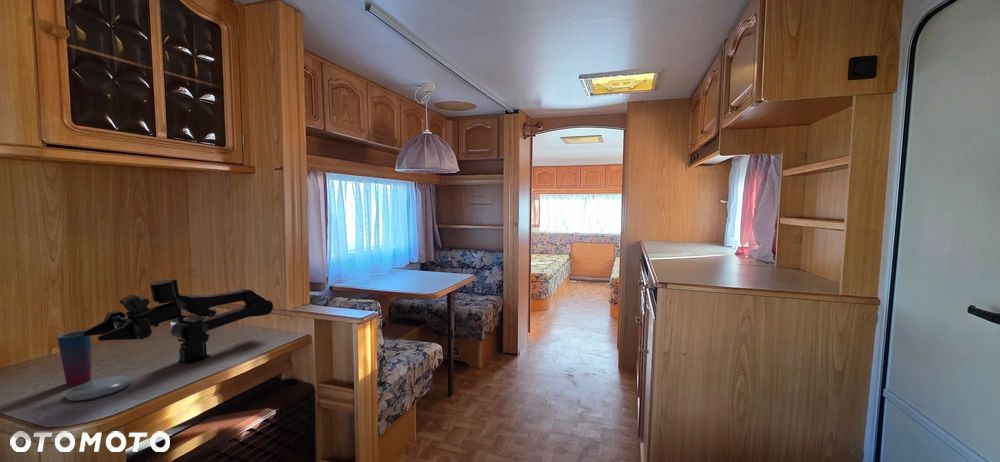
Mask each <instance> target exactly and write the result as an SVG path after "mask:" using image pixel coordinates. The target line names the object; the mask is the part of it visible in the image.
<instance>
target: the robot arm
mask: <svg viewBox="0 0 1000 462" xmlns="http://www.w3.org/2000/svg"><path fill="white" fill-rule="evenodd" d="M148 284H149V289H150V293H151V298H152V301H153V302H157V304H159V305H156V306H153V307H149V306H148V305H149V304H150V303H151V301H150V299H149V298H146V297H142V298H141V297H140V296H138V295H136V294H129V295H126V296H125V297H123V298H122V299H120V300H118V302H119V303H120V304H121V305H123V306H124V308H125V309H126V310H127V311H126V312H122V311H117V310H112V311H109V312H106V315H105V317H104V319H103V321H101V322H99V323H97V324H95V325H94V326H91V327H90V328H88V329H85V330H86V331H84V332H83V335H84V336H91V337H92V336H98V335H99V336H98V337H97V340H98V341H100V342H103V341H125V340H127V341H128V340H129V341H130V340H131V341H133V340H134V341H136V340H144V339H147V338H150V336H151V335H152V333H153V331H152V327H154V328H157V327H160V324H162V323H163V324H164V323H166V322H168V321H169V322H170V321H172V320H173V322H174V323H175V324H174V325H173V326H172V327H171V330H170V335H171V336H172V337H173V338H175V339H176V340H177V341H178V343H180V348H179V349H178V350H179V351H178V352H179V359H178V362H181V363H186V364H193V363H196V362H198V361H201V360H204V359H207V358H209V357H211V355H210V354H208V353H207V352H208V351H207V342H208V341H209V338H210V334H208V333H207V332H209V331H211V330H214V329H217V328H219V327H223V326H227V325H229V324H231V323H235V322H238V321H240V320H243V319H247V318H252V317H261V316H262V317H263V316H268V315H270V314H271V313H272V311H273V309H274V304H273V302H272V301H271V300H268V299H266V298H264V297H263V296H261V295H259V294H257V293H256V292H255V291H253V290H251V289H248V288H247V289H246V288H243V289H239V290H234V291H227V292H220V293H216V294H210V295H205V294H203V295H201V294H187V295H186V294H180V292H179V287H178V280H177V279H174V278H172V279H165V280H157V281H153V282H150V283H148ZM238 302H243V303H244V305H243V306H241V307H237V308H235V309H232V310H229V311H225V312H222V313H218V314H215V315H212V316H209V317H206V318H205V317H204V318H203V317H198V316H196V314H199V313H203V312H206V311H207V310H210V309H211V308H214V307H217V306H218V307H219V306H223V305H228V304H233V303H238ZM182 312H183V313H188V314H192V315H194V314H195V315H194V316H189V317H188V318H186V315H183V313H182Z"/></svg>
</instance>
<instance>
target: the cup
mask: <svg viewBox="0 0 1000 462" xmlns="http://www.w3.org/2000/svg"><path fill="white" fill-rule="evenodd" d="M86 330H87V329H81V330H74V331H68V332H65V333H62V334H59V335H57V344H58V348H59V352H60V359H61V363H62V368H63V369H62V370H63V373H64V379H65V385H66V386H70V387H71V386H79V385H82V384H85V383H88V382H91V380H92V335H91V336H84V335H83V332H84V331H86Z"/></svg>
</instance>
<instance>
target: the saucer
mask: <svg viewBox="0 0 1000 462" xmlns="http://www.w3.org/2000/svg"><path fill="white" fill-rule="evenodd" d="M131 383H132V381H131V377H130V376H127V375H126V376H125V375H117V376H116V375H115V376H110V377H103V378H99V379H95V380H92V381H91V380H90V381H88V382H85V383H82V384H79V385H76V386H75V387H73V388H71V389H70V390H68V391H67V392H66V393H65V399H66V400H68V401H71V402H72V401H73V402H74V401H77V402H78V401H86V400H87V401H88V400H92V399H96V398H97V399H98V398H101V397H105V396H108V395H111V394H114V393H116V392H119V391H121V390H123V389H125V388H126V387H128V386H129V385H130V384H131Z"/></svg>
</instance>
